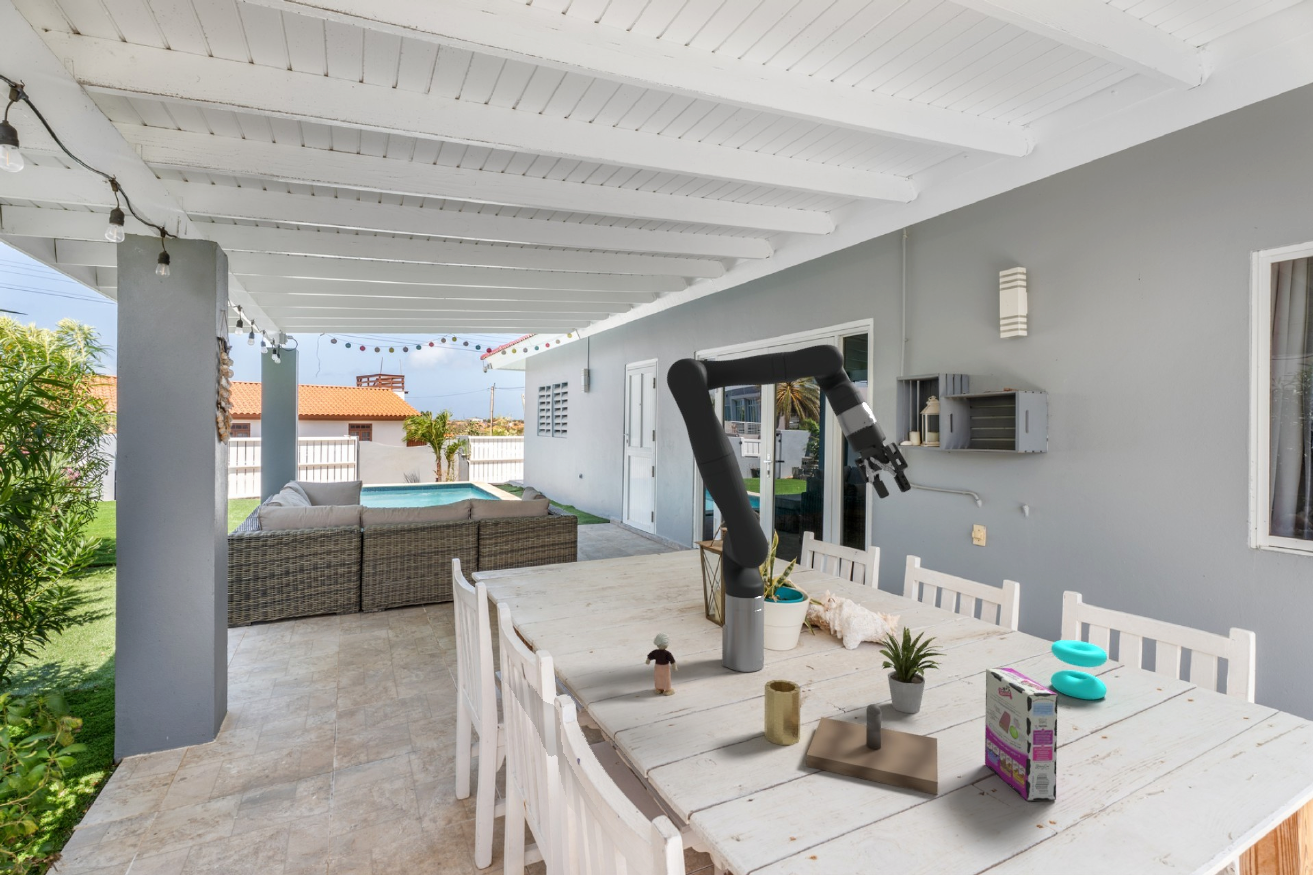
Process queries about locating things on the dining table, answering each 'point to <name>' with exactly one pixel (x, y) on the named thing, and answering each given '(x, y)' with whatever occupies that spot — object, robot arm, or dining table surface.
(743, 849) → the dining table surface
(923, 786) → the post plate
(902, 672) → the house plant
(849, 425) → the robot arm
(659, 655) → the grandmother figurine
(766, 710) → the brass sleeve
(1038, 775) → the candy bar box
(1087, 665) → the donuts
